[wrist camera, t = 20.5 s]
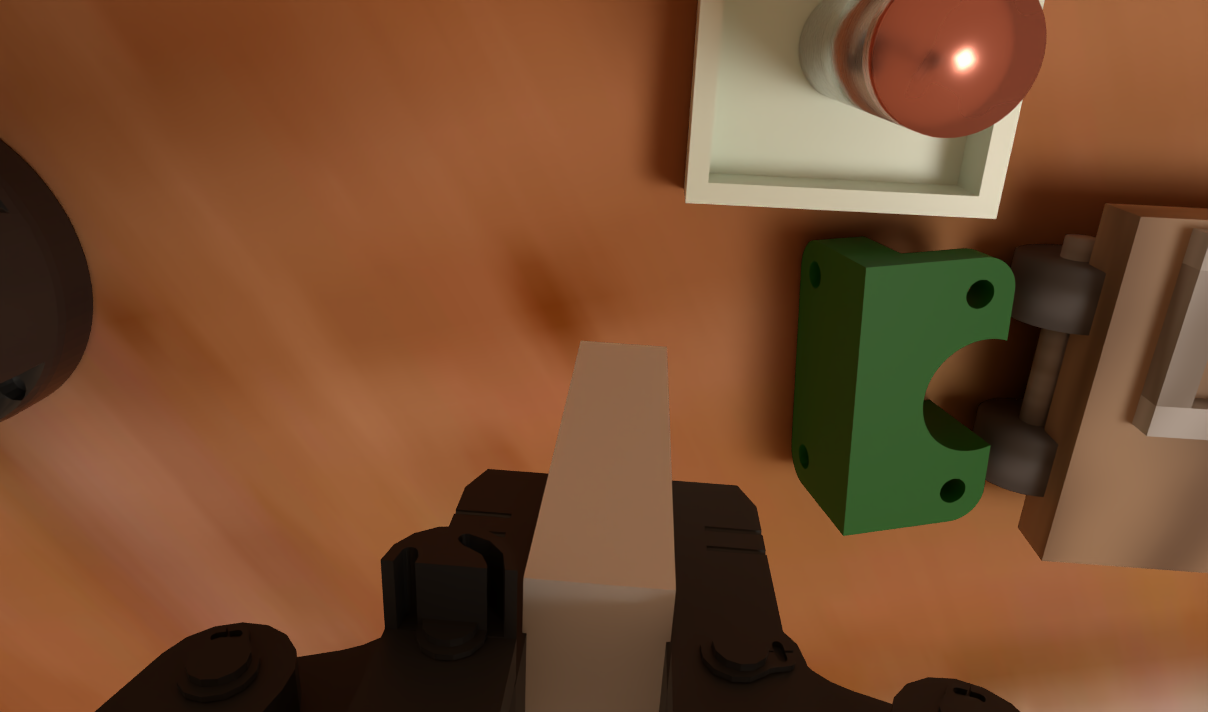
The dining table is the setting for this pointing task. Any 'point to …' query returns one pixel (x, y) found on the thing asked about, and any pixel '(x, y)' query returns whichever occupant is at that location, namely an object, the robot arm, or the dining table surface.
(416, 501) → the dining table surface
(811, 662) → the dining table surface
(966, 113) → the pin
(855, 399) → the clamp
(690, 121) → the tray
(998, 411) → the trolley
